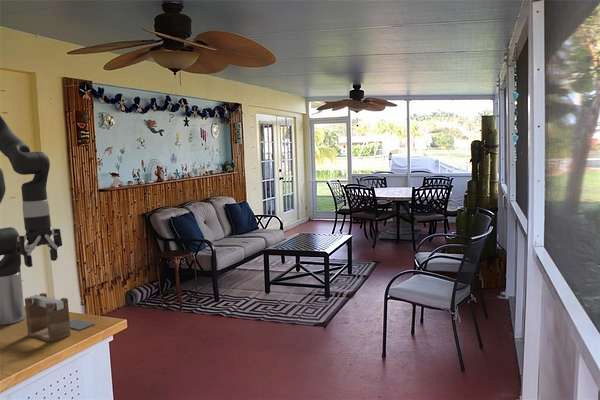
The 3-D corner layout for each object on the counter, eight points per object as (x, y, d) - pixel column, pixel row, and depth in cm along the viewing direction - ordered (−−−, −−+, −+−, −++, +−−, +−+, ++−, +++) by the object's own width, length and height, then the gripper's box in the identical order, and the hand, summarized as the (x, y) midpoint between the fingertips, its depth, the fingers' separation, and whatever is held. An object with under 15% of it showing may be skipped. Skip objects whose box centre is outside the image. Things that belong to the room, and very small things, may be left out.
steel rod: (30, 303, 167) (29, 296, 166) (36, 301, 169) (36, 294, 168) (57, 310, 160) (56, 303, 159) (63, 308, 162) (63, 300, 161)
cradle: (28, 334, 166) (24, 298, 164) (46, 328, 171) (42, 292, 170) (52, 342, 160) (49, 304, 158) (70, 335, 165) (67, 298, 163)
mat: (60, 325, 174) (60, 324, 173) (75, 319, 179) (75, 318, 179) (79, 330, 169) (79, 329, 169) (94, 324, 174) (94, 323, 174)
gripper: (49, 210, 169) (54, 257, 171) (7, 217, 157) (13, 267, 159) (63, 211, 166) (68, 259, 167) (22, 218, 153) (28, 270, 155)
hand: (41, 263), depth 163 cm, fingers open, 8 cm apart
